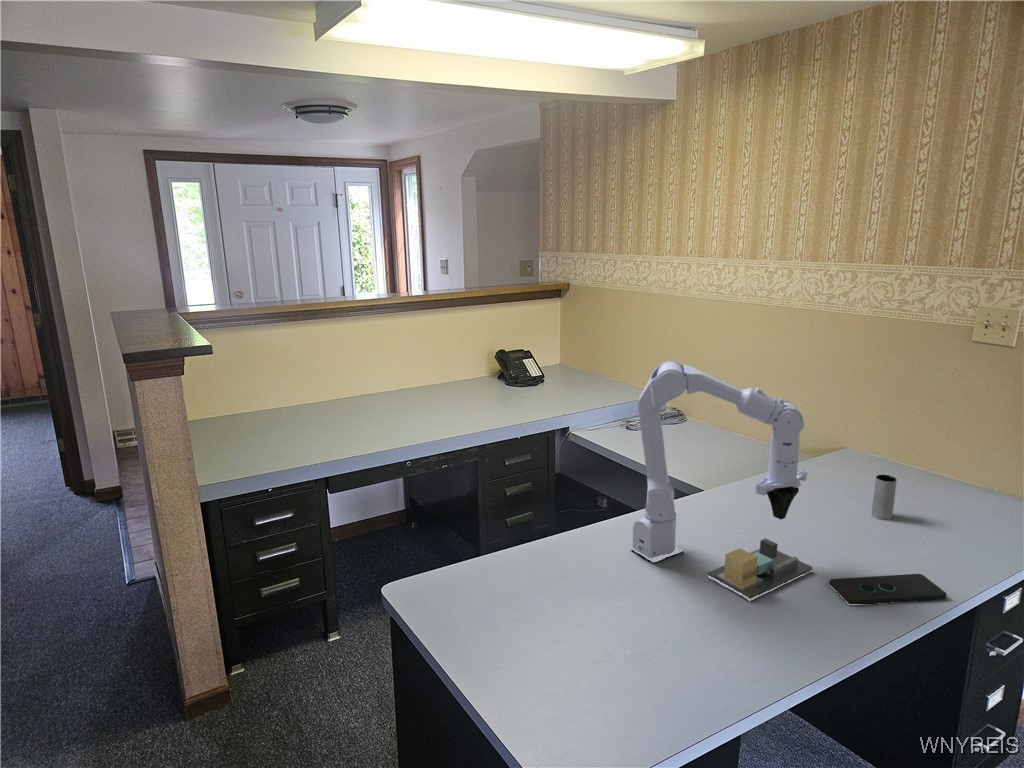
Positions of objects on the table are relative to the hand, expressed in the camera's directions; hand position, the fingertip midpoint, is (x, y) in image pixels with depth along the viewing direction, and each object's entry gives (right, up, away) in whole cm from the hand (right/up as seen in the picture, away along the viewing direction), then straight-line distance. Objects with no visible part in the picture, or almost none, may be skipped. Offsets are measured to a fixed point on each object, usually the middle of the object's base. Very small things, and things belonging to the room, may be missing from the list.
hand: (779, 517), depth 142 cm
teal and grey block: (-6, -10, -4) cm, 12 cm away
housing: (-11, -11, -7) cm, 17 cm away
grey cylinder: (+35, -4, +22) cm, 41 cm away
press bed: (-5, -12, -3) cm, 13 cm away
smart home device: (+17, -14, -10) cm, 24 cm away
